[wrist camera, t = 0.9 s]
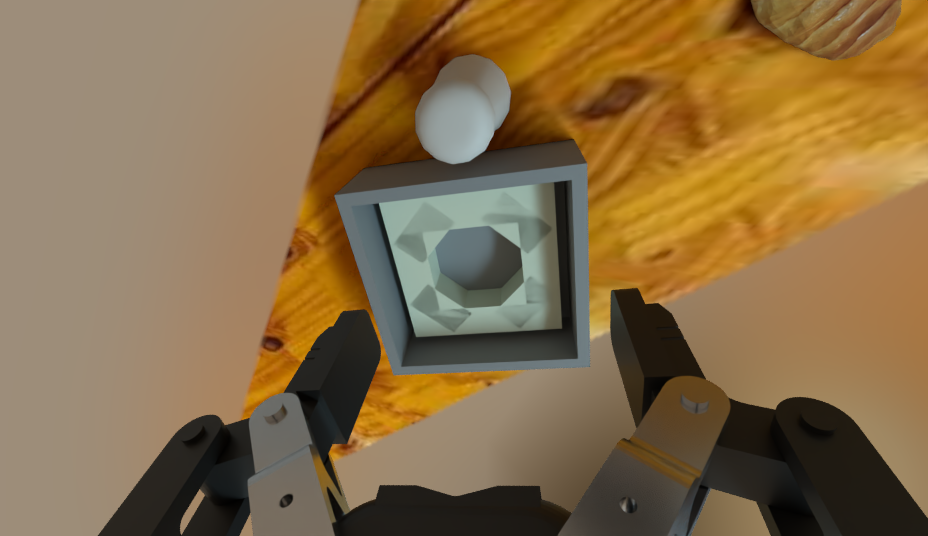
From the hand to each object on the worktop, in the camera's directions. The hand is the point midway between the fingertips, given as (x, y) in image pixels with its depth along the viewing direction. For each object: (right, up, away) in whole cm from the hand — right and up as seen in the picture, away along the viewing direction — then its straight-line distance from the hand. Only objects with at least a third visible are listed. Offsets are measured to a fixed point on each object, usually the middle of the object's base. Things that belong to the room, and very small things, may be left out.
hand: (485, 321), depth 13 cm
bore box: (+1, +4, +25) cm, 26 cm away
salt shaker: (0, +16, +19) cm, 24 cm away
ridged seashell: (+22, +20, +13) cm, 33 cm away
